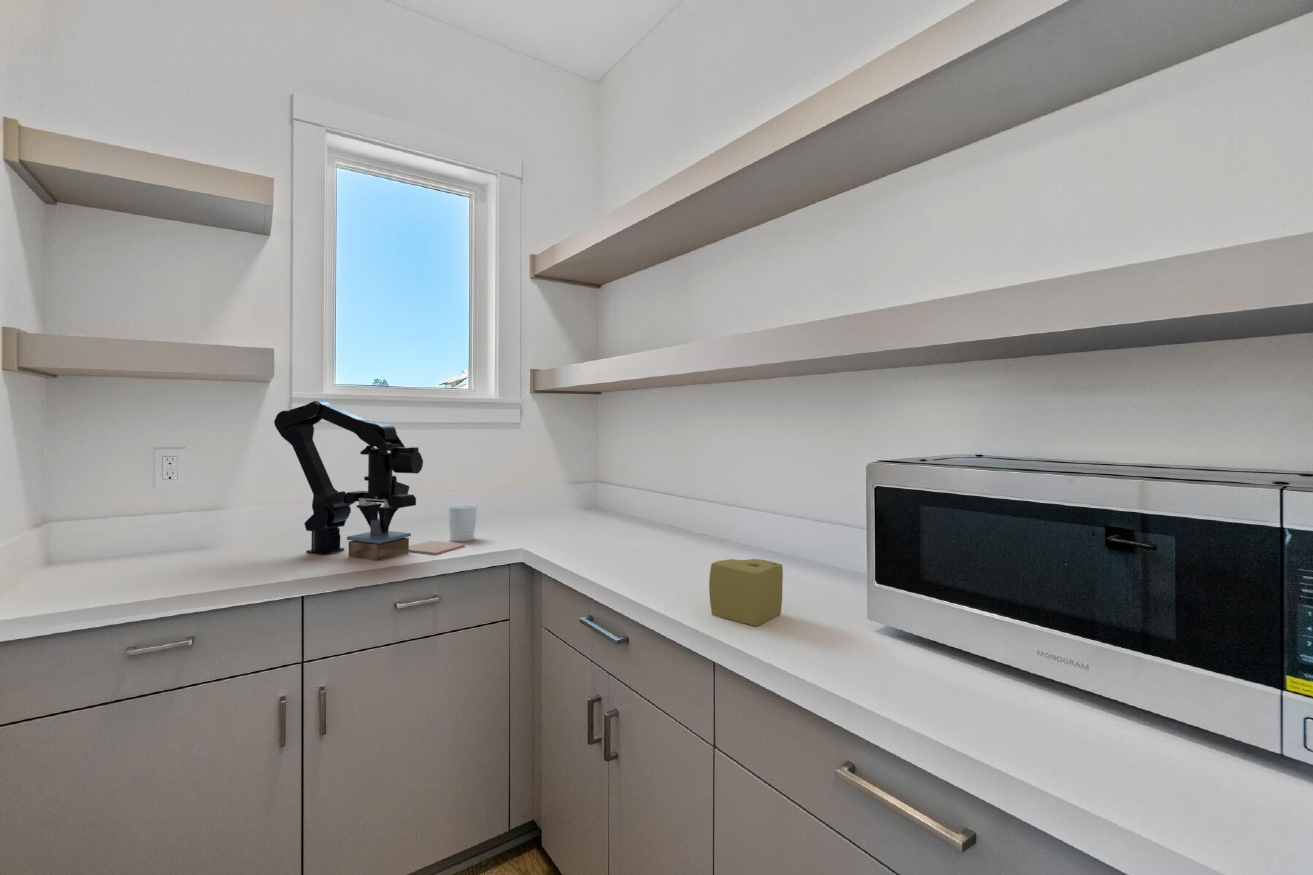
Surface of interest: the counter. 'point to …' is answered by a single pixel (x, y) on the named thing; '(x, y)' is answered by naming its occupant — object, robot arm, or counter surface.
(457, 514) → the white cup
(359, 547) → the box
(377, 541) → the lid
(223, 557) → the counter surface
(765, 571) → the cheese
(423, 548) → the mat
